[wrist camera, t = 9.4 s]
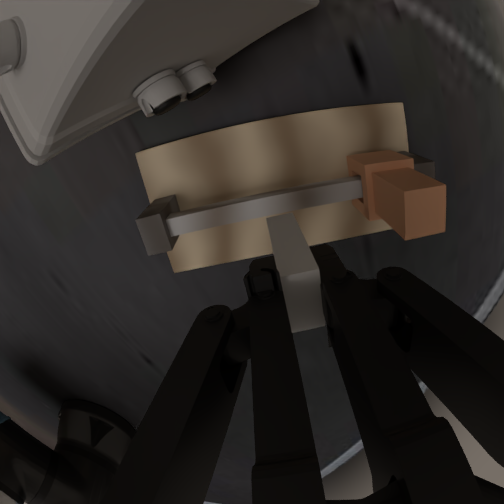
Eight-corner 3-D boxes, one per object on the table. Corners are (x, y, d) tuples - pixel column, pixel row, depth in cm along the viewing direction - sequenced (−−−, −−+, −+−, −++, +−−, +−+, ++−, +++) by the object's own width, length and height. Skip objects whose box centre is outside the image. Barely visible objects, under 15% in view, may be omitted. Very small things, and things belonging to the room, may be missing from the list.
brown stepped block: (352, 204, 25) (397, 251, 17) (346, 155, 23) (395, 182, 15) (393, 196, 25) (450, 238, 17) (389, 149, 23) (452, 174, 15)
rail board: (176, 266, 31) (162, 304, 25) (139, 151, 26) (111, 164, 20) (406, 220, 29) (438, 247, 23) (397, 102, 24) (434, 103, 18)
